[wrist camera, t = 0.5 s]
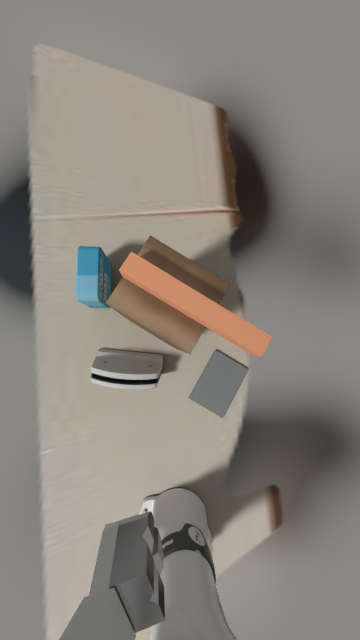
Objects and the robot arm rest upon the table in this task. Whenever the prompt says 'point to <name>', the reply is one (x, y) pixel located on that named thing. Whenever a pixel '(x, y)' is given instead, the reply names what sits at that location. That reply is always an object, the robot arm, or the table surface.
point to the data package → (93, 277)
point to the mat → (218, 383)
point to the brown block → (157, 312)
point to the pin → (194, 305)
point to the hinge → (126, 369)
